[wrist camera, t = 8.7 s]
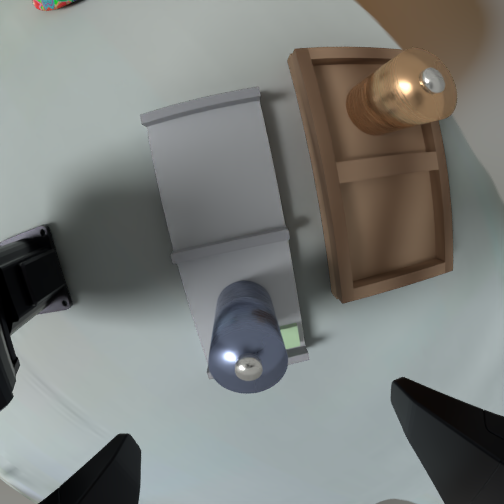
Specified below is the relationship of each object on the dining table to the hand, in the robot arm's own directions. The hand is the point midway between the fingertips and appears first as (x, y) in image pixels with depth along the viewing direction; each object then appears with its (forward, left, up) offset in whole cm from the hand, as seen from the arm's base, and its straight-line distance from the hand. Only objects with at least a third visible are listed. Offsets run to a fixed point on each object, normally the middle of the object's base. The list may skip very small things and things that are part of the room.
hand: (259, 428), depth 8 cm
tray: (+10, +7, -12) cm, 17 cm away
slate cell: (0, -1, -11) cm, 11 cm away
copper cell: (+10, +10, -11) cm, 18 cm away
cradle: (0, +4, -12) cm, 12 cm away
